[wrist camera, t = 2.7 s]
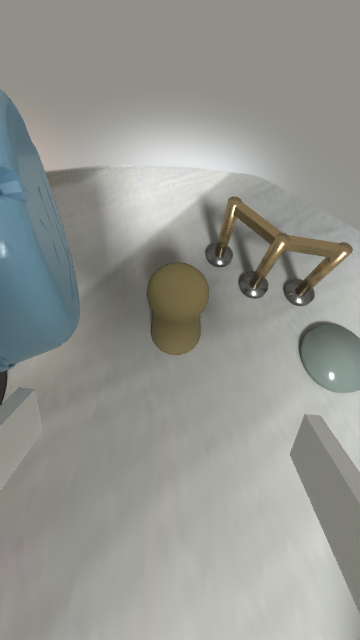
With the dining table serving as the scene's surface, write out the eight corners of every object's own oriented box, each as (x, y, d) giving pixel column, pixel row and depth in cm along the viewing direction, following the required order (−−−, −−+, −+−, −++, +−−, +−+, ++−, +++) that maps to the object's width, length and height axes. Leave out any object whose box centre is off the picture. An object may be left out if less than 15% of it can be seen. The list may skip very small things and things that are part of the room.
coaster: (301, 386, 26) (303, 385, 26) (299, 321, 29) (301, 319, 29) (373, 398, 26) (377, 398, 25) (363, 332, 29) (367, 330, 28)
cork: (143, 318, 29) (128, 264, 18) (187, 301, 30) (196, 241, 20) (162, 363, 27) (157, 330, 16) (209, 342, 28) (231, 300, 18)
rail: (200, 289, 30) (211, 241, 22) (207, 244, 33) (219, 187, 25) (312, 308, 30) (366, 266, 22) (309, 260, 33) (356, 207, 25)
